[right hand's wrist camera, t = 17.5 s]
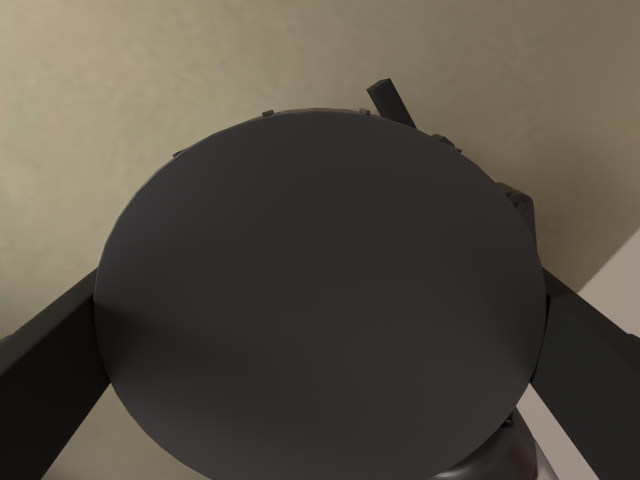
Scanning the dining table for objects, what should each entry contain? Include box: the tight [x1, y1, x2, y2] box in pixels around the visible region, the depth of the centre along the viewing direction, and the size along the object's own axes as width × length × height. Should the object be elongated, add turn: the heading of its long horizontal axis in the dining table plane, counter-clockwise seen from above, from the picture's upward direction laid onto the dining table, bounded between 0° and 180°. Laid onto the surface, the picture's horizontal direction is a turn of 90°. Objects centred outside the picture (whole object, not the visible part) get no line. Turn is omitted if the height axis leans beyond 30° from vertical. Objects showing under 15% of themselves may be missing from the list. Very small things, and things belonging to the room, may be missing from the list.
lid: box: [93, 108, 547, 480], centre depth 11 cm, size 12×12×2 cm
